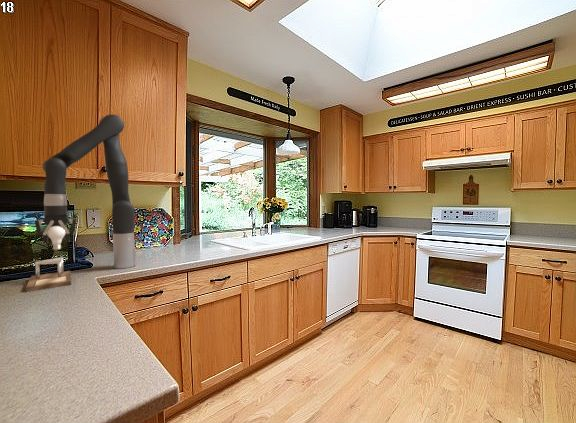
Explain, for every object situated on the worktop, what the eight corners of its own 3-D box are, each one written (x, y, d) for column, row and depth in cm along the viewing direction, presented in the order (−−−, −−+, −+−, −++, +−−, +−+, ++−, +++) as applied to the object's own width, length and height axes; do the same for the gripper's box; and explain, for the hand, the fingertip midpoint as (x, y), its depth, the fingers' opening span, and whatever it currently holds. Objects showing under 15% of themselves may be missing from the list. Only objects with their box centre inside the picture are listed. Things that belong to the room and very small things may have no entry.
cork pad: (66, 277, 113) (66, 276, 113) (65, 281, 108) (65, 280, 108) (36, 281, 108) (36, 280, 108) (35, 286, 102) (35, 284, 102)
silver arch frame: (63, 272, 121) (63, 256, 121) (63, 277, 114) (62, 260, 114) (36, 275, 116) (36, 259, 115) (34, 281, 108) (34, 263, 108)
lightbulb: (44, 251, 115) (43, 225, 114) (52, 249, 121) (51, 224, 120) (61, 251, 116) (61, 225, 116) (69, 248, 122) (68, 224, 122)
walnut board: (70, 273, 124) (70, 270, 124) (70, 284, 109) (70, 281, 109) (31, 279, 116) (31, 275, 116) (26, 291, 100) (25, 287, 100)
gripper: (76, 204, 125) (77, 240, 126) (34, 204, 116) (35, 243, 117) (76, 204, 119) (77, 242, 120) (32, 205, 110) (33, 245, 111)
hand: (56, 242), depth 118 cm, fingers closed on lightbulb, 6 cm apart
